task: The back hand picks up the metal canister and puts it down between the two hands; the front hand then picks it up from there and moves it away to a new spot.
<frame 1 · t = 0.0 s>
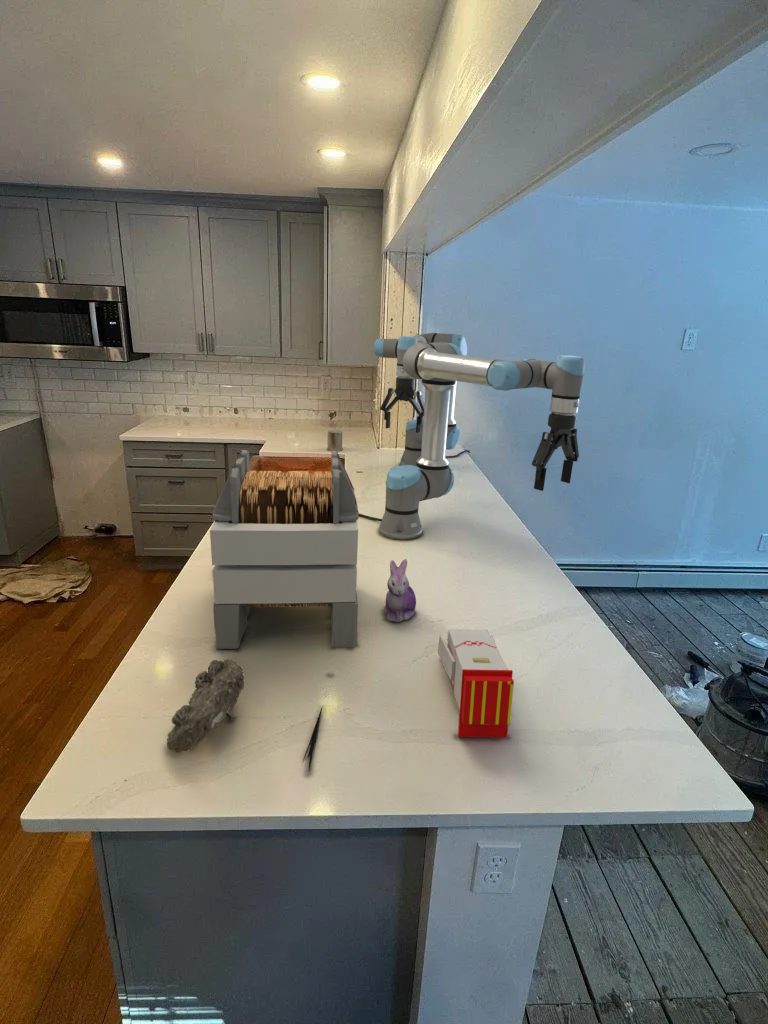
front hand: (552, 485, 166), 28 cm above the counter, tool pointing down, fingers open, 13 cm apart
back hand: (402, 430, 232), 28 cm above the counter, tool pointing down, fingers open, 13 cm apart
canister: (334, 449, 312), on the counter
figurine: (399, 614, 147), on the counter
feather: (319, 719, 109), on the counter
toy: (469, 691, 119), on the counter
record crate: (290, 612, 146), on the counter
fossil: (212, 717, 108), on the counter
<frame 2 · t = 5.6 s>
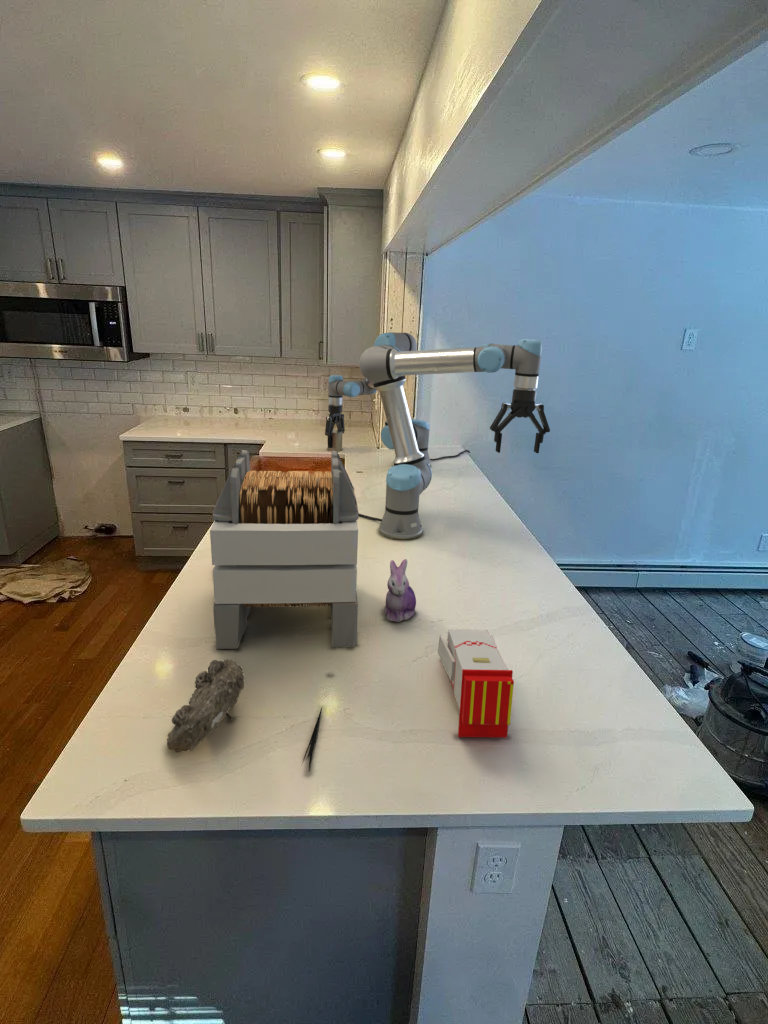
front hand: (517, 452, 193), 30 cm above the counter, tool pointing down, fingers open, 13 cm apart
back hand: (334, 446, 312), 2 cm above the counter, tool pointing down, fingers closed on canister, 8 cm apart
canister: (334, 449, 312), on the counter, touching back hand
everything else where it was.
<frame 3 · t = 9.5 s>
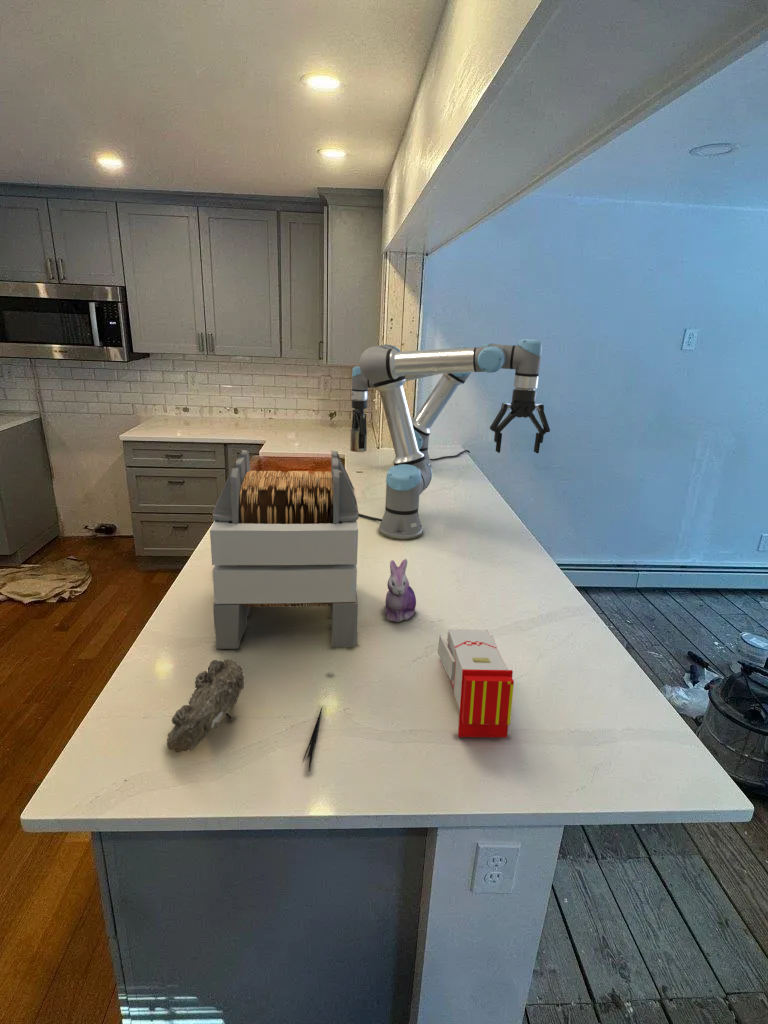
front hand: (517, 452, 193), 30 cm above the counter, tool pointing down, fingers open, 13 cm apart
back hand: (358, 446, 279), 10 cm above the counter, tool pointing down, fingers closed on canister, 8 cm apart
canister: (358, 450, 279), point 8 cm above the counter, touching back hand
everything else where it was.
when the back hand's fingers open (3 cm above the counter, at t = 13.4 s): canister drops 1 cm, on the counter.
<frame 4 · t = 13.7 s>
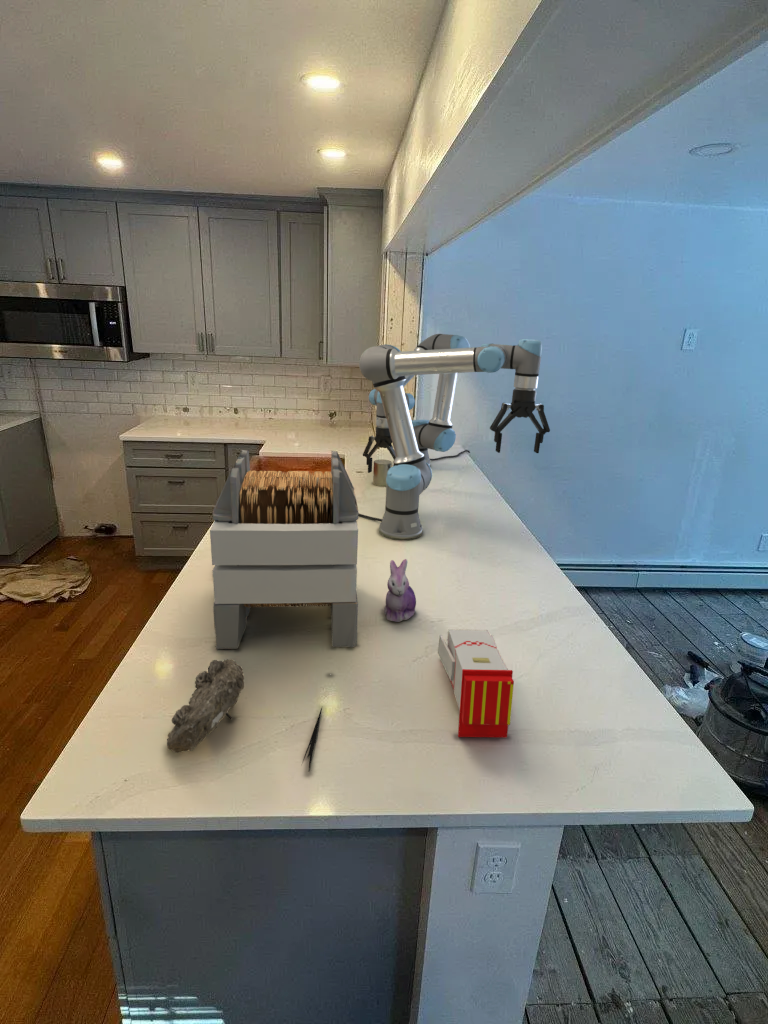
front hand: (517, 452, 193), 30 cm above the counter, tool pointing down, fingers open, 13 cm apart
back hand: (382, 474, 254), 4 cm above the counter, tool pointing down, fingers open, 12 cm apart
canister: (381, 483, 256), on the counter
everything else where it was.
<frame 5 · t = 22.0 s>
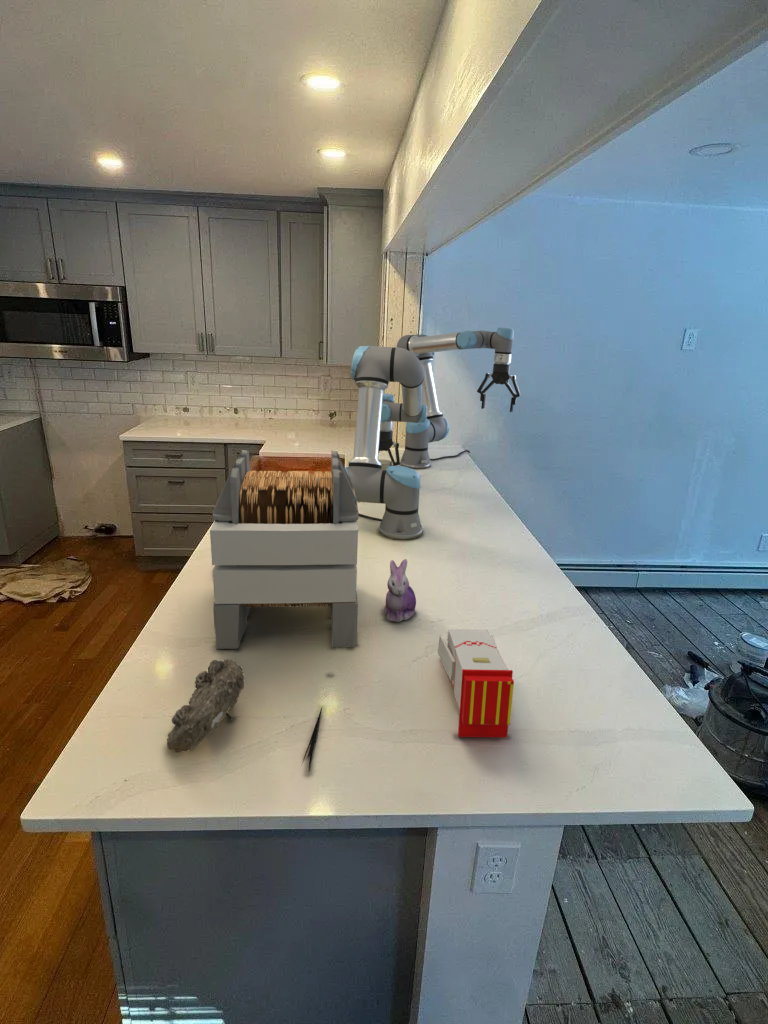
front hand: (382, 479, 255), 2 cm above the counter, tool pointing down, fingers closed on canister, 8 cm apart
back hand: (496, 410, 265), 32 cm above the counter, tool pointing down, fingers open, 13 cm apart
canister: (381, 483, 256), on the counter, touching front hand
everything else where it was.
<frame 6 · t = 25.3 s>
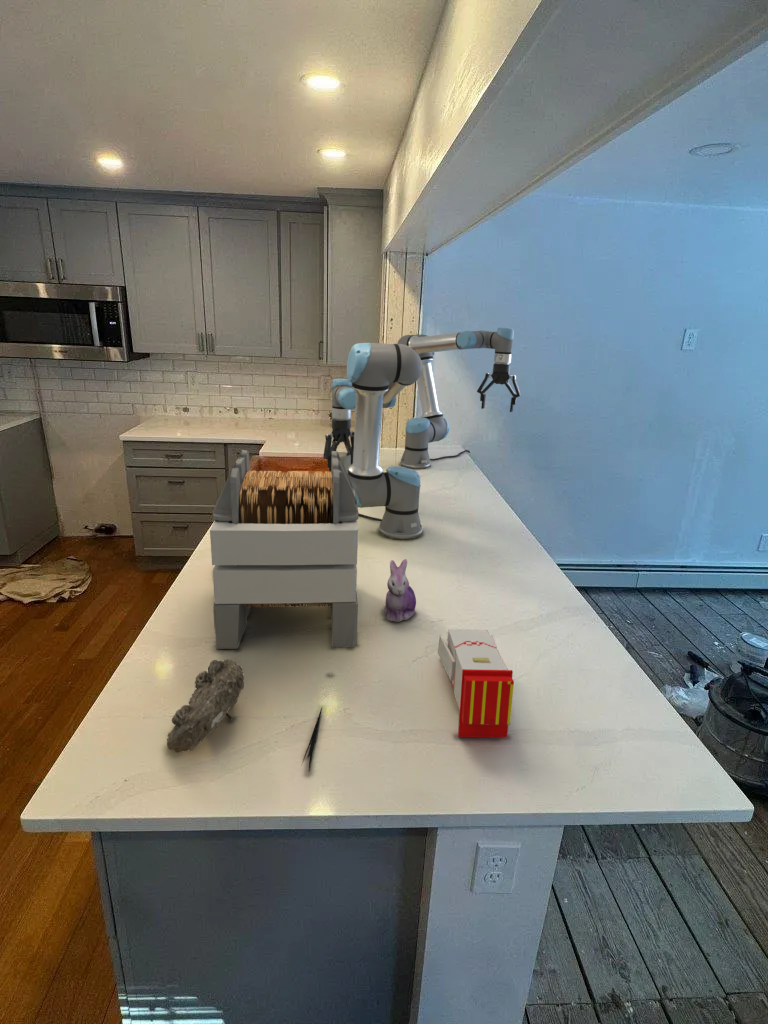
front hand: (340, 474, 232), 10 cm above the counter, tool pointing down, fingers closed on canister, 8 cm apart
back hand: (496, 410, 265), 32 cm above the counter, tool pointing down, fingers open, 13 cm apart
canister: (340, 478, 232), point 8 cm above the counter, touching front hand
everything else where it was.
when the front hand's fingers open (3 cm above the counter, at t = 28.9 s): canister drops 1 cm, on the counter.
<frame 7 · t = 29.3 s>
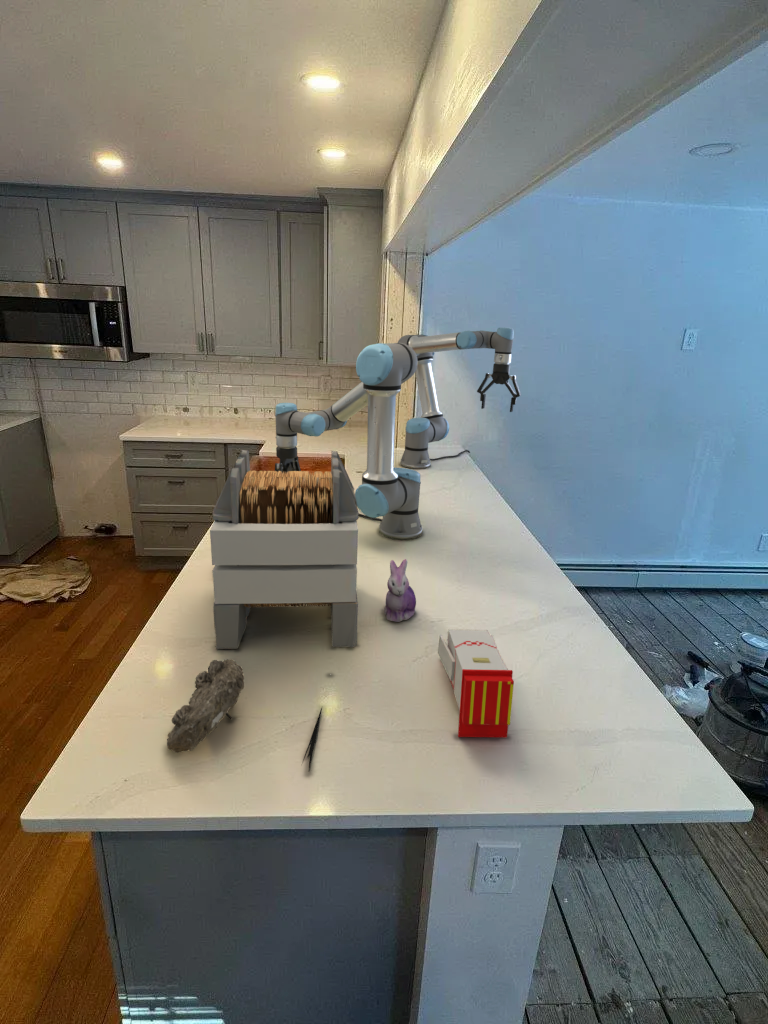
front hand: (287, 502, 212), 5 cm above the counter, tool pointing down, fingers open, 12 cm apart
back hand: (496, 410, 265), 32 cm above the counter, tool pointing down, fingers open, 13 cm apart
canister: (287, 514, 214), on the counter
everything else where it was.
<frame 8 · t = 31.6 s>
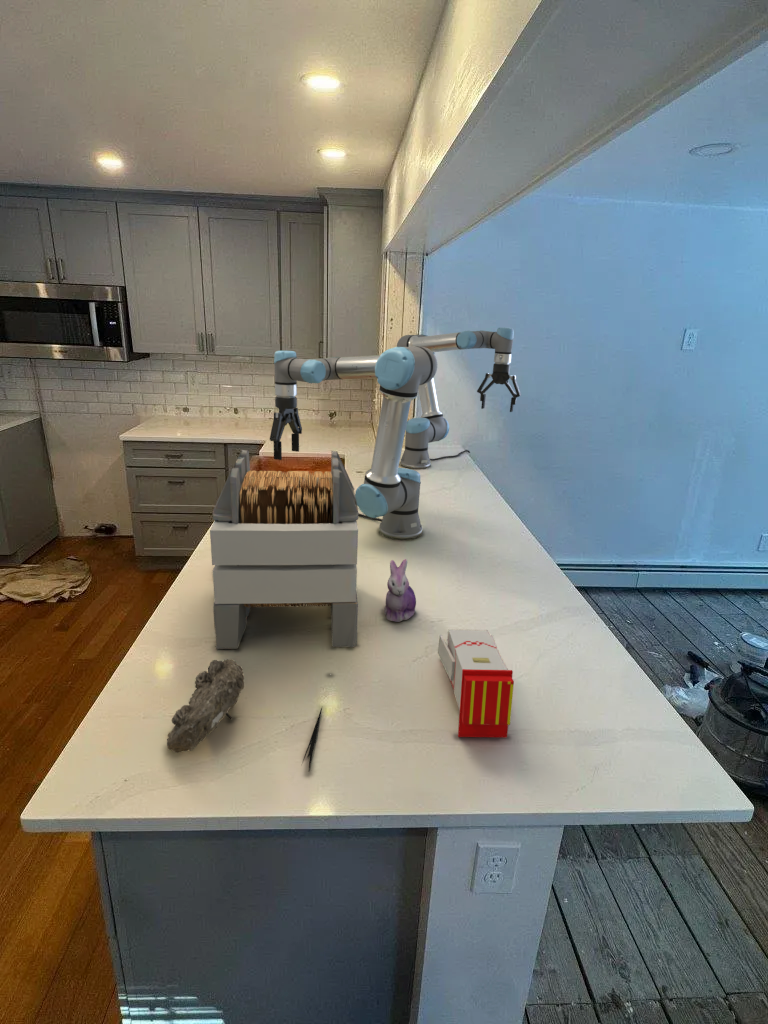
front hand: (286, 455, 206), 23 cm above the counter, tool pointing down, fingers open, 13 cm apart
back hand: (496, 410, 265), 32 cm above the counter, tool pointing down, fingers open, 13 cm apart
nothing on the counter moved.
at the end: canister inside the target area (0.0 cm from its centre), on the counter; canister tilted 0°; the two hands never held the canister at the same time; the front hand is holding nothing; the back hand is holding nothing; canister at rest at the end (0.0 cm/s) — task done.
